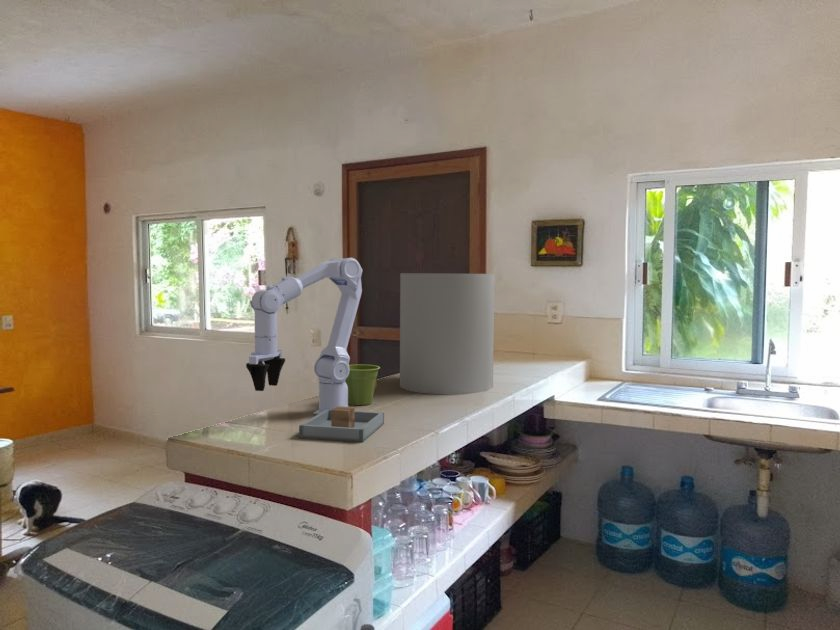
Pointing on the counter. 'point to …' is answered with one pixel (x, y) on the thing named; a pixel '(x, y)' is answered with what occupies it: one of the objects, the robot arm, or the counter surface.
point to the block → (343, 417)
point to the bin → (323, 430)
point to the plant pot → (361, 383)
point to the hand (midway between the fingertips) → (266, 387)
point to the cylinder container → (446, 332)
